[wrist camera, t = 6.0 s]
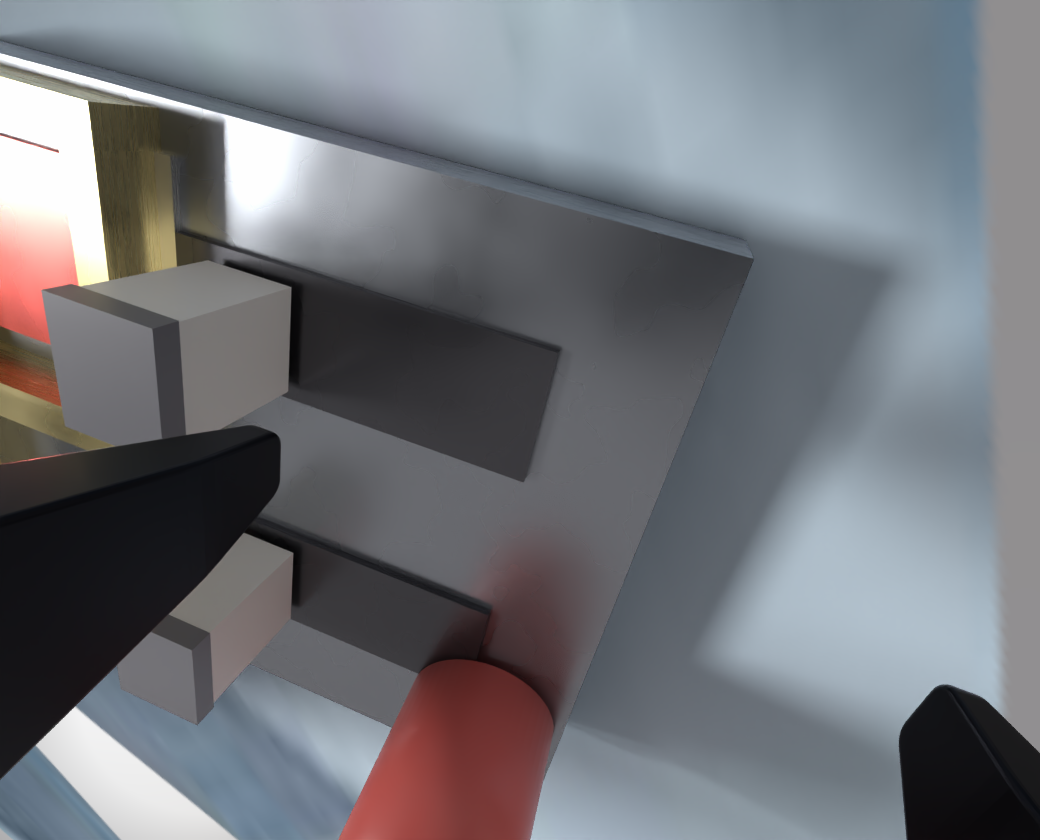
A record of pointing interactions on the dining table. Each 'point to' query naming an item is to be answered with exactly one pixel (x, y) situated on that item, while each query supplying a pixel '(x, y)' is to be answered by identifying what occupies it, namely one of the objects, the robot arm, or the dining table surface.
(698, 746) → the dining table surface
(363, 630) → the panel
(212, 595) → the block
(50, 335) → the block
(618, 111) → the dining table surface
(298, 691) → the dining table surface
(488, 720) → the red rounded cylinder
